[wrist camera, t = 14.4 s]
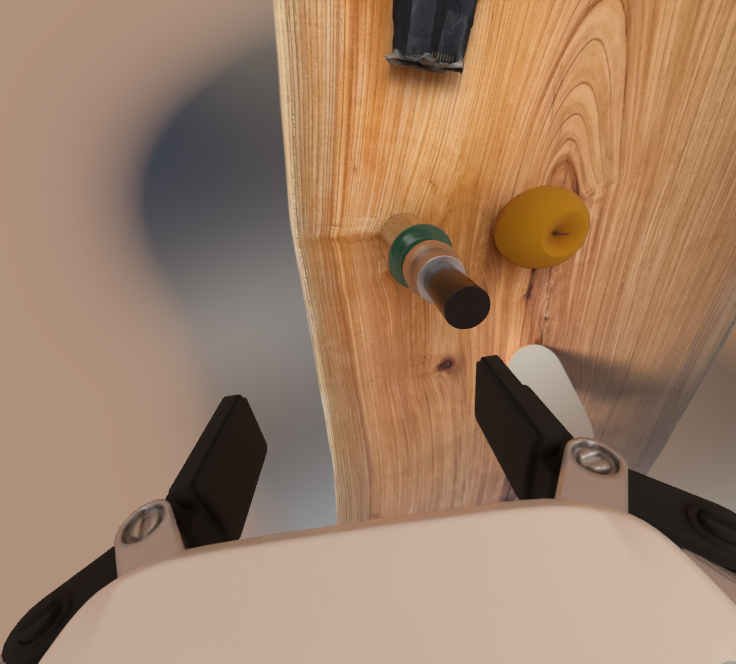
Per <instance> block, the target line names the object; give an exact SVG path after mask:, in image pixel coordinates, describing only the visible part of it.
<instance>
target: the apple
mask: <svg viewBox="0 0 736 664" xmlns="http://www.w3.org/2000/svg"><path fill="white" fill-rule="evenodd" d="M589 229H590V216H589V212H588V210H587V208H586V205H585V204H584V203H583V201H582V200H581V199H580V198H579V197H578V195H577V194H576V193H574V192H572V191H570V190H568V189H566V188H562V187H556V186H539V187H536V188H532V189H529V190H527V191H525V192H523V193H521V194H519V195H517V196H516V197H515V198H513V199H512V200H511V201H510V202H509V203H508V204H507V205H506V206H505V207H504V208H503V210H502V211H501V213H500V215H499V217H498V219H497V223H496V226H495V230H494V239H495V243H496V247H497V248H498V249H499V251H500V252H501V254H502V255H504V256H505V257H507V258H508V259H510V260H511V261H512V262H514V263H515V264H516V265H518V266H522V267H525V268H528V269H531V268H549V267H553V266H556V265H559V264H561V263H563V262H564V261H566V260H568V259H569V258H571V257H572V256H573V255H574V254H575V253H576V252H577V251H578V250H579V249H580V247H581V246H582V245H583V244H584V241H585V239H586V236H587V234H588V231H589Z"/></svg>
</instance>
